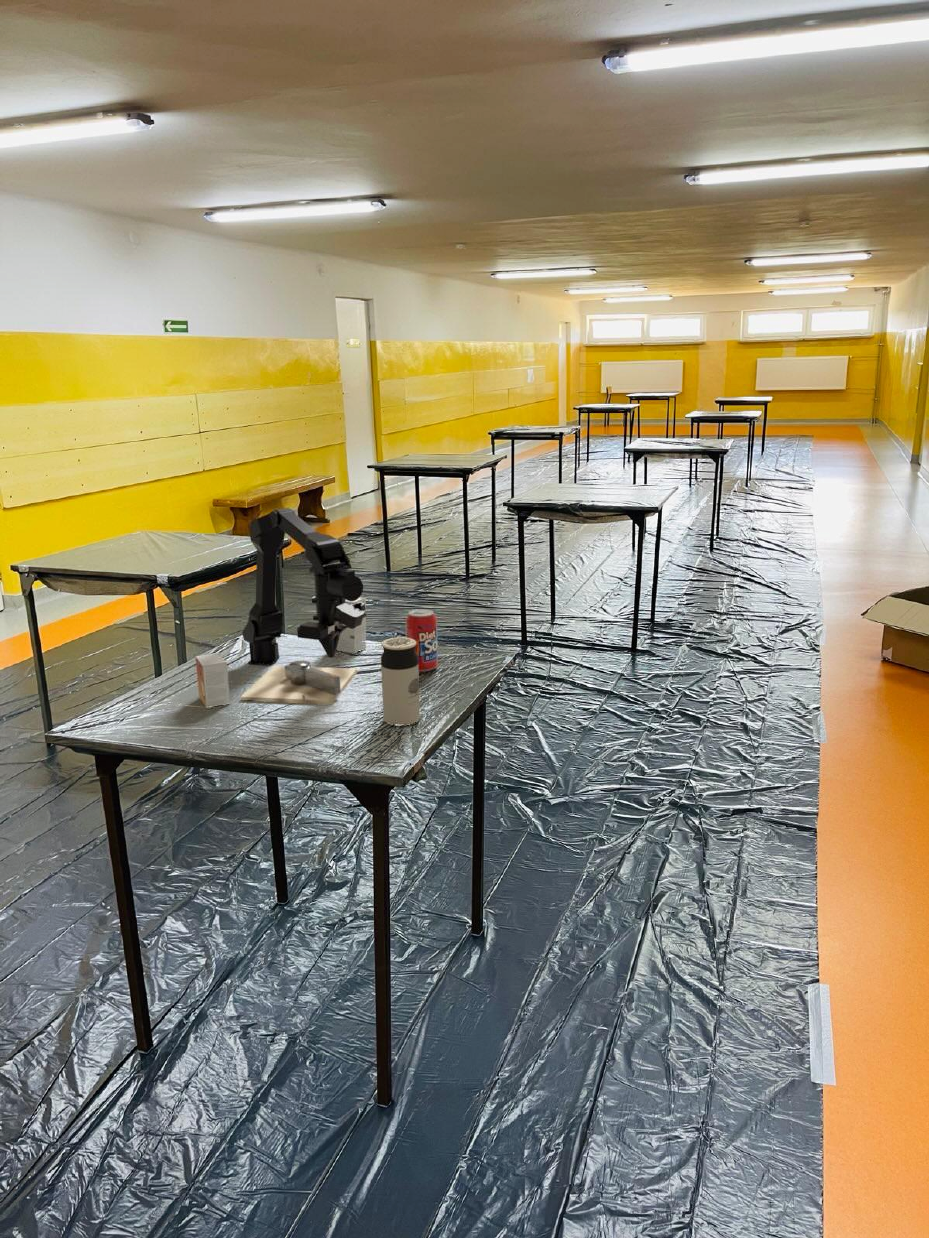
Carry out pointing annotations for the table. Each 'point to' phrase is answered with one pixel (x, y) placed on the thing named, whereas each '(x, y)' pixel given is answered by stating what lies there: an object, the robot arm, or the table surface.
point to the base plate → (295, 687)
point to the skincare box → (353, 634)
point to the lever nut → (312, 677)
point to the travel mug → (400, 681)
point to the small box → (212, 679)
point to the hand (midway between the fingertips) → (331, 657)
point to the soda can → (423, 637)
